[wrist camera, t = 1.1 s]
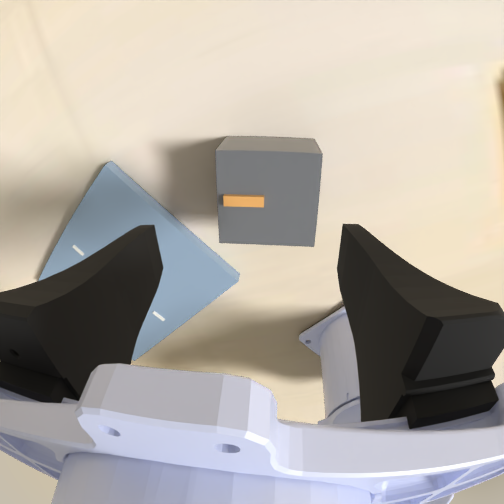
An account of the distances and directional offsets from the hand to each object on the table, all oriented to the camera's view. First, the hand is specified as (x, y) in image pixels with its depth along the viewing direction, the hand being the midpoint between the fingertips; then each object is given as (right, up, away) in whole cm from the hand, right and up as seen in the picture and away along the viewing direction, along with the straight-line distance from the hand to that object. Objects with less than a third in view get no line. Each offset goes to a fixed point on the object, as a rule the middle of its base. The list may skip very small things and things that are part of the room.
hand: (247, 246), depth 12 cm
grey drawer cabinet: (+1, +5, +9) cm, 10 cm away
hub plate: (-11, -2, +14) cm, 18 cm away
